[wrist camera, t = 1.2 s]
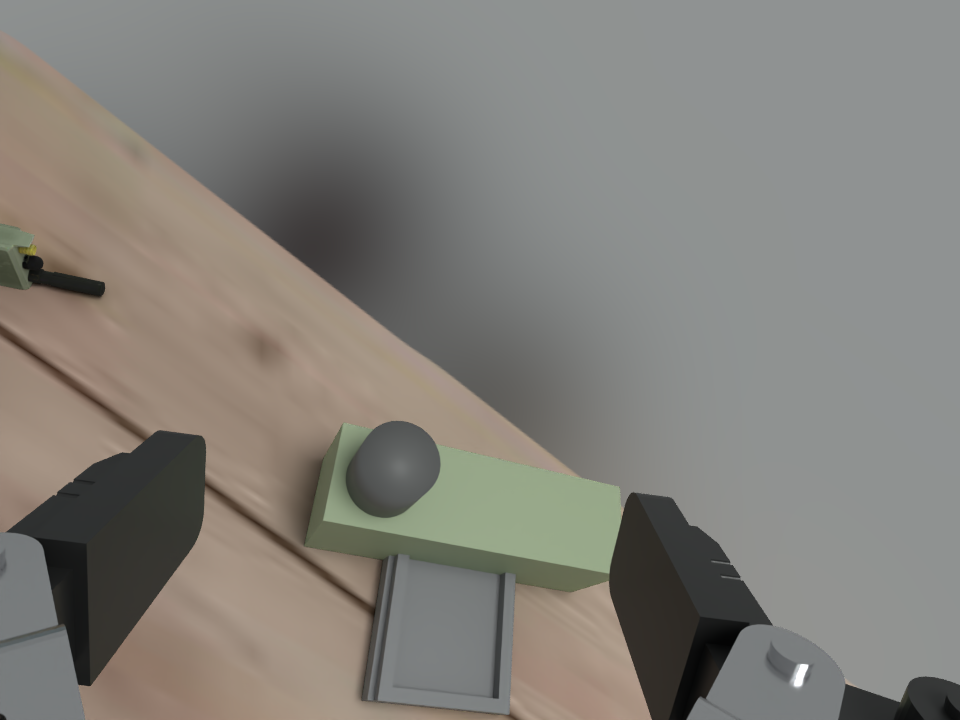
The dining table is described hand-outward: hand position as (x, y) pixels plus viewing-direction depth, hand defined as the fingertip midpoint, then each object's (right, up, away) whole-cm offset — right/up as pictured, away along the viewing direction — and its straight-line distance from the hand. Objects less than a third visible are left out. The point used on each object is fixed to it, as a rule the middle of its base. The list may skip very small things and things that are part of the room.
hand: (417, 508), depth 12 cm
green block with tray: (-2, -18, +45) cm, 48 cm away
